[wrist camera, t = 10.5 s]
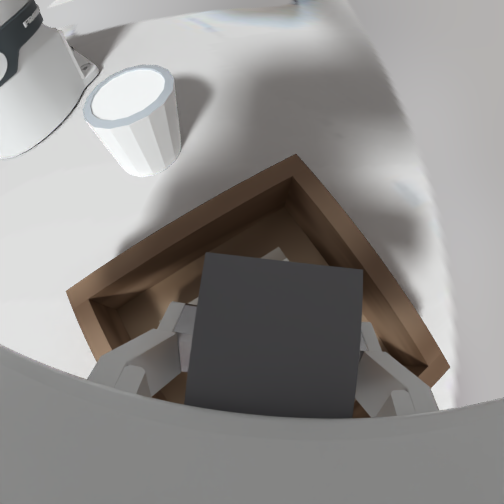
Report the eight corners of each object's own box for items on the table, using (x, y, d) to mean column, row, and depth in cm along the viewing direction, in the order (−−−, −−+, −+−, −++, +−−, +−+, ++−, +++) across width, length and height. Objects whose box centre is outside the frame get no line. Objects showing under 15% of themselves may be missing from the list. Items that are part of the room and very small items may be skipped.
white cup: (112, 135, 24) (85, 82, 18) (181, 113, 25) (168, 54, 19) (116, 194, 22) (79, 142, 16) (196, 169, 23) (181, 107, 17)
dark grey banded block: (216, 382, 14) (182, 414, 6) (227, 304, 15) (205, 251, 7) (298, 391, 14) (351, 427, 6) (306, 312, 15) (363, 269, 7)
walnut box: (101, 305, 20) (65, 291, 15) (286, 193, 23) (295, 153, 18) (223, 494, 15) (217, 530, 11) (410, 366, 18) (450, 367, 14)
